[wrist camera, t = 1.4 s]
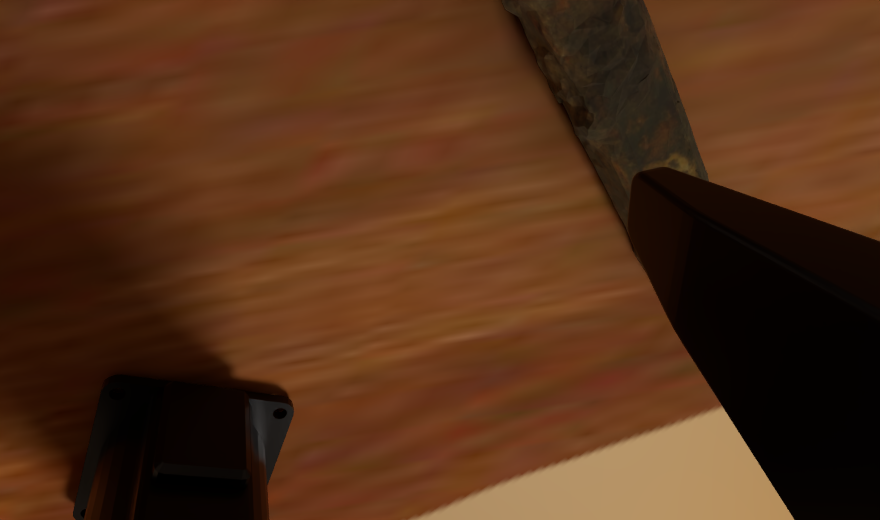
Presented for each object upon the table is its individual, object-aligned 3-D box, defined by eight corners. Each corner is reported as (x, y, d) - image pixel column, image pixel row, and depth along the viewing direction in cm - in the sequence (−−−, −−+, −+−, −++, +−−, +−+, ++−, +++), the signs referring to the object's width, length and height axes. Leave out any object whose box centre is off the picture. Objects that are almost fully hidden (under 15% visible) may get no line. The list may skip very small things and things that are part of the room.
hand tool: (446, -62, 19) (502, -53, 15) (563, -138, 19) (650, -150, 15) (641, 349, 29) (704, 419, 25) (717, 301, 29) (793, 364, 25)
